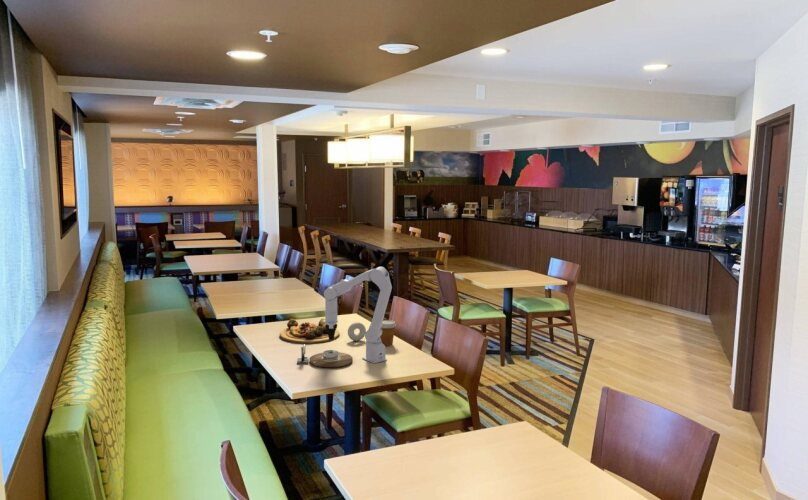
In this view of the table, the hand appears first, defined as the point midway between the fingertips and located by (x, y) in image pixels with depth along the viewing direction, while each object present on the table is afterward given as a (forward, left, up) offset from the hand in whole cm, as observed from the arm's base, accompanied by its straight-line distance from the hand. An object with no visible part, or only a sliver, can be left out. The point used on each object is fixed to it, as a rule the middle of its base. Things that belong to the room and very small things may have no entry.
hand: (331, 339), depth 281 cm
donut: (+14, -25, -8) cm, 30 cm away
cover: (-7, +5, -7) cm, 11 cm away
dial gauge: (0, +16, -8) cm, 18 cm away
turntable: (-7, +5, -8) cm, 12 cm away
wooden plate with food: (+37, -11, -9) cm, 39 cm away
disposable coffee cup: (-1, -33, -8) cm, 34 cm away
